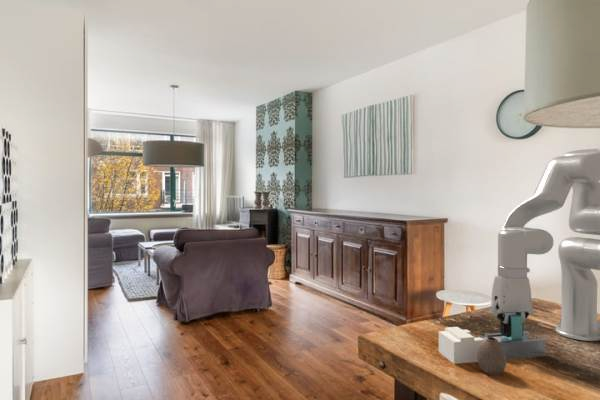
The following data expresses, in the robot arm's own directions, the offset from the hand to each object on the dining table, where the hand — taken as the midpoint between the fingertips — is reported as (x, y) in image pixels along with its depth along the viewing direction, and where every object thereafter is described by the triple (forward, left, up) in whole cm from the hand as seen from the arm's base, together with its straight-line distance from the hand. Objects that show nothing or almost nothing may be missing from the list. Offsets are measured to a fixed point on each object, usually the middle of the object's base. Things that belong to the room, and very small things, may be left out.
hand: (511, 334), depth 117 cm
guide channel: (-1, 0, -5) cm, 5 cm away
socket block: (+15, 0, -5) cm, 16 cm away
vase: (+13, +10, -5) cm, 18 cm away
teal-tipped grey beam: (+5, 0, -4) cm, 6 cm away
